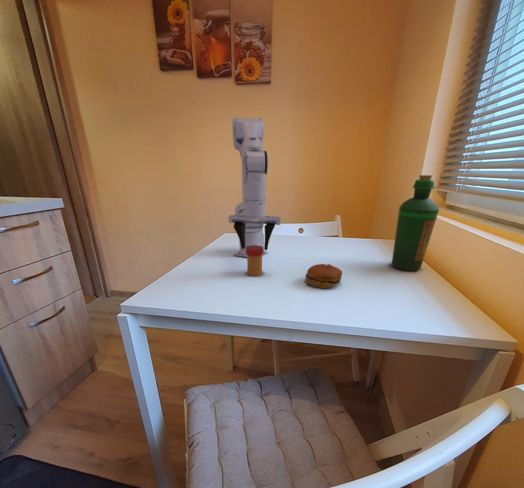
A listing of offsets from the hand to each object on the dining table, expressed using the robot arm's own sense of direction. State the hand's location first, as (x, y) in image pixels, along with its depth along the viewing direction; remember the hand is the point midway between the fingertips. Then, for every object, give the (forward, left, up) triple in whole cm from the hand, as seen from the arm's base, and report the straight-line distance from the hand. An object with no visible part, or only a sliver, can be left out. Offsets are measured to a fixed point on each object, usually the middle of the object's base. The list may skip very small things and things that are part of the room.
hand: (254, 248), depth 81 cm
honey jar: (0, 0, -8) cm, 8 cm away
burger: (-4, +20, -8) cm, 22 cm away
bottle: (-31, +39, -8) cm, 50 cm away
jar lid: (0, 0, 0) cm, 0 cm away
